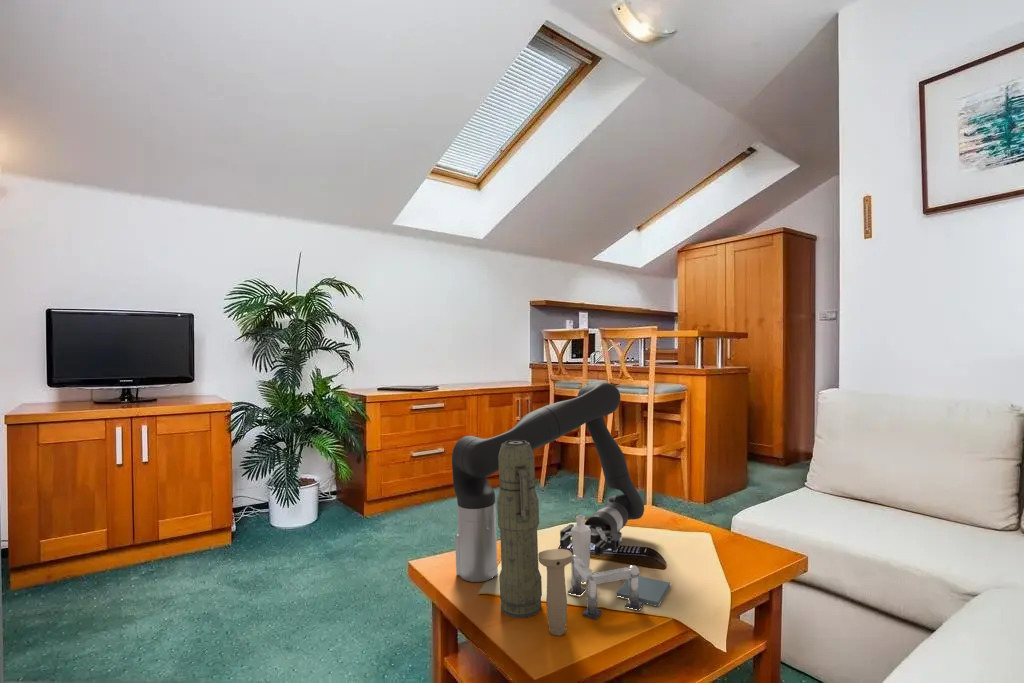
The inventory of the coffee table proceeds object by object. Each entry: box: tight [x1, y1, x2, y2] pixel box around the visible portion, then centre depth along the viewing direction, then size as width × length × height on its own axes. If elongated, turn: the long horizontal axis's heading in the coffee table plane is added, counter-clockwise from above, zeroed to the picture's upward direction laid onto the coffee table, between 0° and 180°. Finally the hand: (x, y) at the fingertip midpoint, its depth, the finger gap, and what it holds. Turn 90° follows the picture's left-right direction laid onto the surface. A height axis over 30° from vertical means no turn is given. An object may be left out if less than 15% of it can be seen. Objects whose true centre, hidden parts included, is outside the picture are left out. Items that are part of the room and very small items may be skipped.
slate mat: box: [616, 575, 671, 607], centre depth 115 cm, size 9×10×1 cm
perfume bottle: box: [571, 514, 591, 583], centre depth 121 cm, size 5×4×15 cm
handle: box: [538, 548, 573, 637], centre depth 100 cm, size 5×6×15 cm
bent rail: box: [567, 553, 644, 621], centre depth 109 cm, size 16×10×8 cm, turn 59°
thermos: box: [496, 440, 543, 619], centre depth 110 cm, size 9×12×35 cm
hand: (579, 547), depth 119 cm, fingers open, 8 cm apart
